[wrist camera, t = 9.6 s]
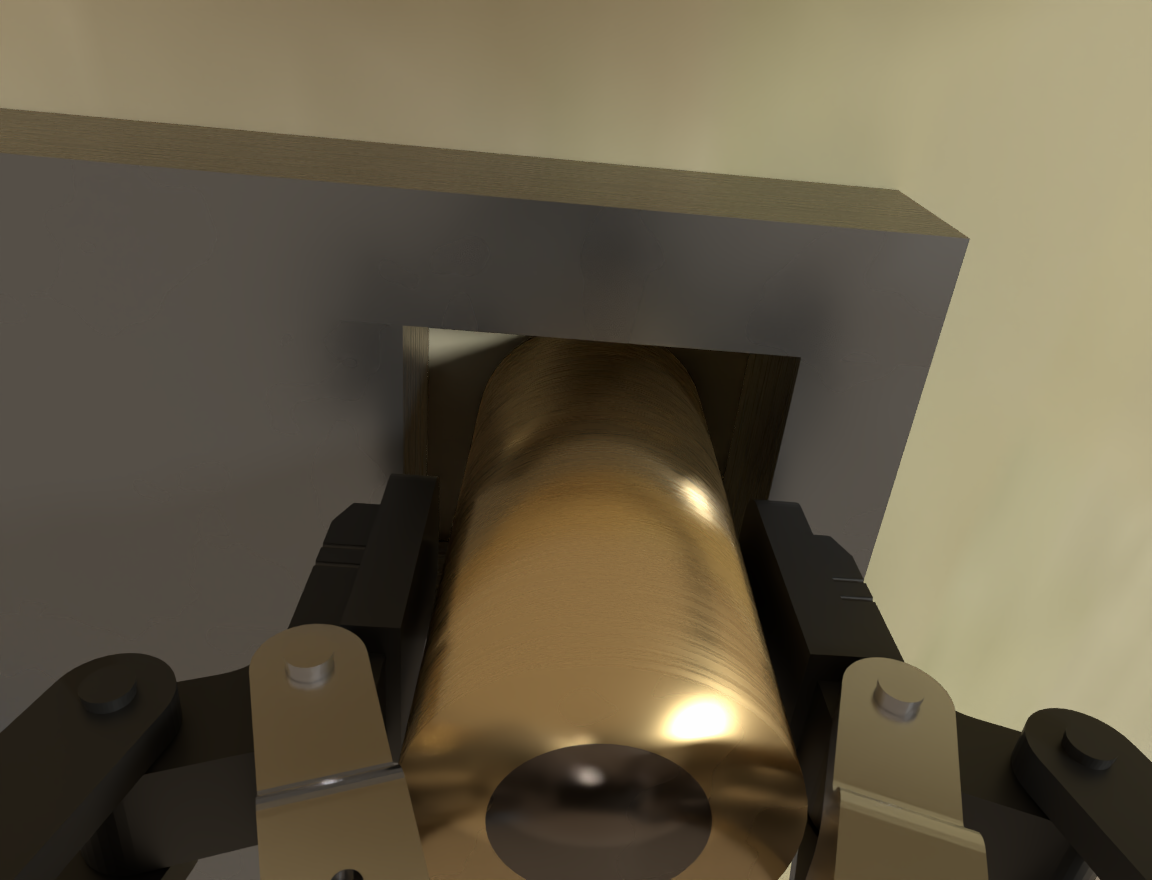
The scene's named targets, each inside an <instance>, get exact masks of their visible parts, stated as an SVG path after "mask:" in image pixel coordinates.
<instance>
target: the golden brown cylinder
mask: <svg viewBox="0 0 1152 880" xmlns="http://www.w3.org/2000/svg"><path fill="white" fill-rule="evenodd" d="M398 764H399V765H401V767H402V770H403V772H404V775H405V779H406V783H407V787H408V791H409V795H410V799H411V803H412V807H413V812H414V816H415V820H416V824H417V828H418V832H419V837H420V841H421V845H422V849H423V853H424V857H425V861H426V866H427V870H428V874H429V878H430V880H778V879H779V878H780V876H781V875H782V874H783V873H784V872H785V870H786V869H787V867H788V866H789V864H790V863H791V861H792V860H793V858H794V856H795V855H796V853H797V850H798V848H799V846H800V843H801V841H802V839H803V835H804V831H805V827H806V822H807V807H808V800H807V794H806V788H805V782H804V778H803V775H802V771H801V767H800V764H799V760H798V756H797V753H796V749H795V745H794V742H793V738H792V734H791V731H790V727H789V723H788V720H787V716H786V713H785V709H784V705H783V702H782V698H781V694H780V691H779V687H778V683H777V680H776V676H775V672H774V669H773V665H772V661H771V658H770V654H769V650H768V647H767V643H766V639H765V636H764V632H763V628H762V625H761V621H760V617H759V614H758V610H757V606H756V603H755V599H754V595H753V592H752V588H751V584H750V581H749V577H748V573H747V570H746V566H745V562H744V559H743V555H742V552H741V548H740V544H739V541H738V537H737V533H736V530H735V526H734V522H733V519H732V515H731V511H730V508H729V504H728V500H727V497H726V493H725V489H724V486H723V482H722V478H721V475H720V471H719V467H718V464H717V460H716V456H715V453H714V449H713V445H712V442H711V438H710V434H709V431H708V427H707V423H706V420H705V416H704V412H703V409H702V405H701V401H700V398H699V395H698V392H697V389H696V387H695V384H694V382H693V381H692V379H691V377H690V375H689V373H688V372H687V370H686V369H685V368H684V366H683V365H682V363H681V362H680V361H679V360H678V359H677V358H676V357H675V356H674V355H673V354H672V353H671V352H670V351H669V350H667V349H666V348H665V347H664V346H654V345H641V344H629V343H616V342H604V341H591V340H578V339H566V338H553V337H541V336H534V337H532V338H530V339H528V340H527V341H525V342H524V343H522V344H521V345H520V346H518V347H517V348H515V349H514V350H513V351H512V352H511V353H510V354H509V355H508V356H507V357H505V359H504V360H503V361H502V362H501V363H500V365H499V366H498V367H497V368H496V370H495V371H494V373H493V374H492V376H491V378H490V379H489V381H488V383H487V386H486V388H485V390H484V393H483V396H482V400H481V403H480V407H479V412H478V416H477V421H476V425H475V429H474V434H473V438H472V442H471V447H470V451H469V456H468V460H467V464H466V469H465V473H464V478H463V482H462V486H461V491H460V495H459V499H458V504H457V508H456V513H455V517H454V521H453V526H452V530H451V535H450V539H449V543H448V548H447V552H446V557H445V561H444V565H443V570H442V574H441V578H440V583H439V587H438V592H437V596H436V600H435V605H434V609H433V614H432V618H431V622H430V627H429V631H428V635H427V640H426V644H425V649H424V653H423V657H422V662H421V666H420V671H419V675H418V679H417V684H416V688H415V693H414V697H413V701H412V706H411V710H410V714H409V719H408V723H407V728H406V732H405V736H404V741H403V745H402V750H401V754H400V758H399V763H398Z"/></svg>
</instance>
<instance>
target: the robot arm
mask: <svg viewBox="0 0 1152 880" xmlns="http://www.w3.org/2000/svg"><path fill="white" fill-rule="evenodd" d="M439 490H440V487H439V477H438V476H424V475H410V474H395V473H391V475H390V477H389V479H388V482H387V485H386V488H385V491H384V494H383V497H382V500H381V503H380V504H366V503H353V504H351V505H350V506H349V507H348V508H347V509H345V510H344V511H343V512H342V513H341V514H339V515H338V516H337V517H336V518H335V519H334V520H332V522H331V524H330V527H329V529H328V532H327V534H326V536H325V539H324V541H323V547H321V549H320V551H319V553H318V556H317V558H316V561H315V566H313V568H312V571H311V573H310V575H309V578H308V580H307V583H306V585H305V588H304V590H303V593H302V595H301V597H300V600H299V602H298V605H297V607H296V610H295V612H294V615H293V617H292V619H291V622H290V624H289V627H288V629H287V630H284V631H282V632H280V633H278V634H276V635H274V636H273V637H271V638H269V639H268V640H267V641H265V642H264V643H263V644H262V645H261V646H260V647H259V648H258V649H257V651H256V652H255V654H254V655H253V657H252V659H251V662H250V665H248V666H246V667H244V668H241V669H238V670H235V671H232V672H228V673H223V674H219V675H213V676H208V677H202V678H196V679H191V680H185V681H179V682H177V681H176V677H175V674H174V672H173V670H172V669H171V667H170V666H169V665H168V664H167V663H166V662H164V661H162V660H161V659H159V658H156V657H154V656H151V655H146V654H141V653H121V654H114V655H108V656H104V657H100V658H97V659H94V660H91V661H89V662H86V663H84V664H82V665H80V666H78V667H76V668H74V669H72V670H71V671H69V672H68V673H66V674H65V675H63V676H62V677H61V678H60V679H58V680H57V681H56V682H55V683H54V684H53V685H52V686H51V687H49V688H48V689H47V690H46V691H45V692H44V693H43V694H42V695H41V696H40V697H39V698H38V699H36V700H35V701H34V702H33V703H32V704H31V705H30V706H29V707H28V708H27V709H26V710H25V711H23V712H22V713H21V714H20V715H19V716H18V717H17V718H16V719H15V720H14V721H13V722H12V723H10V724H9V725H8V726H7V727H6V728H5V729H4V730H3V731H2V732H1V733H0V880H186V878H187V877H188V876H189V874H190V873H191V871H192V870H193V868H194V867H195V865H196V863H197V862H198V860H199V859H202V858H207V857H211V856H215V855H219V854H223V853H227V852H231V851H235V850H239V849H243V848H247V847H251V846H256V845H258V852H259V868H260V880H430V878H429V874H428V870H427V866H426V861H425V857H424V853H423V849H422V845H421V841H420V837H419V832H418V828H417V824H416V820H415V816H414V812H413V807H412V803H411V799H410V795H409V791H408V787H407V783H406V779H405V775H404V772H403V770H402V767H401V765H399V764H398V765H394V764H393V763H399V758H400V754H401V750H402V745H403V741H404V736H405V732H406V728H407V723H408V719H409V714H410V710H411V706H412V701H413V697H414V693H415V688H416V684H417V679H418V675H419V671H420V666H421V662H422V657H423V652H424V647H425V642H426V637H427V632H428V627H429V622H430V617H431V612H432V607H433V602H434V596H435V590H436V581H437V570H438V542H439ZM738 541H739V544H740V548H741V552H742V555H743V559H744V562H745V566H746V570H747V573H748V577H749V581H750V584H751V588H752V592H753V595H754V599H755V603H756V606H757V610H758V614H759V617H760V621H761V625H762V628H763V632H764V636H765V639H766V643H767V647H768V650H769V654H770V658H771V661H772V665H773V669H774V672H775V676H776V680H777V683H778V687H779V691H780V694H781V698H782V702H783V705H784V709H785V713H786V716H787V720H788V723H789V727H790V731H791V734H792V738H793V742H794V745H795V749H796V753H797V756H798V760H799V764H800V767H801V771H802V775H803V778H804V782H805V788H806V794H807V800H808V807H807V822H806V827H805V831H804V835H803V839H802V841H801V843H800V846H799V848H798V850H797V853H796V855H795V856H794V858H793V860H792V864H791V871H790V879H789V880H1095V879H1096V877H1097V876H1098V877H1099V879H1100V880H1152V762H1151V761H1150V760H1149V759H1148V758H1147V757H1146V756H1145V755H1144V754H1143V753H1142V752H1141V751H1140V750H1139V749H1138V748H1137V747H1136V746H1135V745H1133V744H1132V743H1131V742H1130V741H1129V740H1128V739H1127V738H1126V737H1125V736H1123V735H1122V734H1121V733H1119V732H1118V731H1117V730H1115V729H1114V728H1112V727H1110V726H1109V725H1107V724H1105V723H1104V722H1102V721H1100V720H1098V719H1096V718H1093V717H1091V716H1088V715H1086V714H1083V713H1080V712H1076V711H1073V710H1068V709H1060V708H1049V709H1043V710H1039V711H1037V712H1035V713H1033V714H1032V715H1031V716H1030V717H1029V718H1028V720H1027V722H1026V724H1025V726H1024V728H1023V730H1022V732H1019V731H1016V730H1013V729H1009V728H1006V727H1003V726H999V725H996V724H992V723H989V722H986V721H982V720H979V719H975V718H973V717H970V716H967V715H964V714H962V713H959V712H957V711H955V707H954V704H953V701H952V699H951V697H950V696H949V694H948V693H947V691H946V690H945V689H944V688H943V687H942V686H941V684H939V683H938V682H937V681H936V680H935V679H934V678H932V677H931V676H930V675H928V674H927V673H925V672H924V671H922V670H920V669H918V668H916V667H914V666H912V665H910V664H907V663H905V662H904V660H903V658H902V656H901V654H900V652H899V650H898V648H897V646H896V644H895V642H894V640H893V638H892V636H891V634H890V632H889V630H888V628H887V626H886V624H885V622H884V619H883V617H882V615H881V613H880V611H879V609H878V607H877V605H876V603H875V602H873V601H872V599H873V597H872V595H871V593H870V591H869V589H868V587H867V585H866V583H863V580H864V579H863V577H862V575H861V573H860V570H859V568H858V566H857V564H856V562H855V560H854V558H853V556H852V555H851V554H849V553H848V552H847V551H846V550H845V549H844V548H843V547H842V546H841V545H840V544H838V543H837V542H836V541H835V540H834V539H833V538H832V537H831V536H826V535H813V533H812V530H811V528H810V526H809V524H808V521H807V519H806V517H805V514H804V512H803V510H802V508H801V506H800V504H799V503H797V502H785V501H771V500H756V499H751V500H750V501H749V502H748V504H747V506H746V509H745V513H744V518H743V522H742V527H741V531H740V536H739V540H738Z"/></svg>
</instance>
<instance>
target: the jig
mask: <svg viewBox="0 0 1152 880" xmlns="http://www.w3.org/2000/svg"><path fill="white" fill-rule="evenodd" d="M968 243H969V238H968V237H967V236H965V235H964V234H962V233H961V232H959V231H958V230H956V229H955V228H953V227H952V226H950V225H949V224H947V223H946V222H944V221H943V220H941V219H940V218H938V217H937V216H936V215H934V214H933V213H931V212H930V211H928V210H927V209H925V208H924V207H922V206H921V205H919V204H918V203H916V202H915V201H913V200H912V199H910V198H909V197H907V196H906V195H905V194H903V193H902V192H900V191H899V190H890V189H879V188H869V187H858V186H847V185H836V184H825V183H814V182H803V181H792V180H781V179H770V178H759V177H748V176H737V175H726V174H715V173H704V172H693V171H682V170H671V169H660V168H649V167H638V166H627V165H616V164H605V163H594V162H583V161H572V160H561V159H551V158H540V157H529V156H518V155H507V154H496V153H485V152H474V151H463V150H452V149H441V148H430V147H419V146H408V145H397V144H386V143H375V142H364V141H353V140H342V139H331V138H320V137H309V136H298V135H287V134H276V133H265V132H254V131H244V130H233V129H222V128H211V127H200V126H189V125H178V124H167V123H156V122H145V121H134V120H123V119H112V118H101V117H90V116H79V115H68V114H57V113H46V112H35V111H24V110H13V109H2V108H0V733H1V732H2V731H3V730H4V729H5V728H6V727H7V726H8V725H9V724H10V723H12V722H13V721H14V720H15V719H16V718H17V717H18V716H19V715H20V714H21V713H22V712H23V711H25V710H26V709H27V708H28V707H29V706H30V705H31V704H32V703H33V702H34V701H35V700H36V699H38V698H39V697H40V696H41V695H42V694H43V693H44V692H45V691H46V690H47V689H48V688H49V687H51V686H52V685H53V684H54V683H55V682H56V681H57V680H58V679H60V678H61V677H62V676H63V675H65V674H66V673H68V672H69V671H71V670H72V669H74V668H76V667H78V666H80V665H82V664H84V663H86V662H89V661H91V660H94V659H97V658H100V657H104V656H108V655H114V654H121V653H141V654H146V655H151V656H154V657H156V658H159V659H161V660H162V661H164V662H166V663H167V664H168V665H169V666H170V667H171V669H172V670H173V672H174V674H175V677H176V681H177V682H179V681H185V680H191V679H196V678H202V677H208V676H213V675H219V674H223V673H228V672H232V671H235V670H238V669H241V668H244V667H246V666H248V665H250V662H251V659H252V657H253V655H254V654H255V652H256V651H257V649H258V648H259V647H260V646H261V645H262V644H263V643H264V642H265V641H267V640H268V639H269V638H271V637H273V636H274V635H276V634H278V633H280V632H282V631H284V630H287V629H288V627H289V624H290V622H291V619H292V617H293V615H294V612H295V610H296V607H297V605H298V602H299V600H300V597H301V595H302V593H303V590H304V588H305V585H306V583H307V580H308V578H309V575H310V573H311V571H312V568H313V566H315V561H316V558H317V556H318V553H319V551H320V549H321V547H323V541H324V539H325V536H326V534H327V532H328V529H329V527H330V524H331V522H332V520H334V519H335V518H336V517H337V516H338V515H339V514H341V513H342V512H343V511H344V510H345V509H347V508H348V507H349V506H350V505H351V504H353V503H366V504H380V503H381V500H382V497H383V494H384V491H385V488H386V485H387V482H388V479H389V477H390V475H391V473H395V474H410V475H424V476H427V434H428V348H429V328H440V329H453V330H465V331H478V332H490V333H503V334H516V335H528V336H541V337H553V338H566V339H578V340H591V341H604V342H616V343H629V344H641V345H654V346H667V347H679V348H692V349H704V350H717V351H729V352H742V353H749V356H748V361H747V366H746V371H745V376H744V381H743V386H742V391H741V396H740V401H739V406H738V411H737V416H736V421H735V426H734V431H733V436H732V441H731V446H730V451H729V456H728V461H727V466H726V471H725V476H724V481H723V486H724V489H725V493H726V497H727V500H728V504H729V508H730V511H731V515H732V519H733V522H734V526H735V530H736V533H737V537H738V540H739V536H740V531H741V527H742V522H743V518H744V513H745V509H746V506H747V504H748V502H749V501H750V500H751V499H756V500H771V501H785V502H797V503H799V504H800V506H801V508H802V510H803V512H804V514H805V517H806V519H807V521H808V524H809V526H810V528H811V530H812V533H813V535H826V536H831V537H832V538H833V539H834V540H835V541H836V542H837V543H838V544H840V545H841V546H842V547H843V548H844V549H845V550H846V551H847V552H848V553H849V554H851V555H852V556H853V558H854V560H855V562H856V564H857V566H858V568H859V570H860V573H861V575H862V577H863V579H864V577H865V574H866V571H867V568H868V565H869V561H870V558H871V555H872V552H873V548H874V545H875V542H876V539H877V536H878V532H879V529H880V526H881V523H882V519H883V516H884V513H885V510H886V507H887V503H888V500H889V497H890V494H891V490H892V487H893V484H894V481H895V478H896V474H897V471H898V468H899V465H900V462H901V458H902V455H903V452H904V449H905V445H906V442H907V439H908V436H909V433H910V429H911V426H912V423H913V420H914V416H915V413H916V410H917V407H918V404H919V400H920V397H921V394H922V391H923V388H924V384H925V381H926V378H927V375H928V371H929V368H930V365H931V362H932V359H933V355H934V352H935V349H936V346H937V342H938V339H939V336H940V333H941V330H942V326H943V323H944V320H945V317H946V313H947V310H948V307H949V304H950V301H951V297H952V294H953V291H954V288H955V285H956V281H957V278H958V275H959V272H960V268H961V265H962V262H963V259H964V256H965V252H966V249H967V246H968ZM448 543H449V542H441V541H439V542H438V570H437V581H436V590H435V596H434V602H433V607H432V612H431V617H430V622H431V618H432V614H433V609H434V605H435V600H436V596H437V592H438V587H439V583H440V578H441V574H442V570H443V565H444V561H445V557H446V552H447V548H448ZM863 581H864V580H863ZM430 622H429V627H430ZM429 627H428V631H429ZM427 635H428V632H427ZM426 640H427V637H426ZM425 644H426V642H425ZM424 649H425V647H424ZM423 653H424V652H423ZM393 764H394V765H398V763H393ZM186 880H260V868H259V852H258V845H256V846H251V847H247V848H243V849H239V850H235V851H231V852H227V853H223V854H219V855H215V856H211V857H207V858H202V859H199V860H198V862H197V863H196V865H195V867H194V868H193V870H192V871H191V873H190V874H189V876H188V877H187V878H186Z"/></svg>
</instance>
